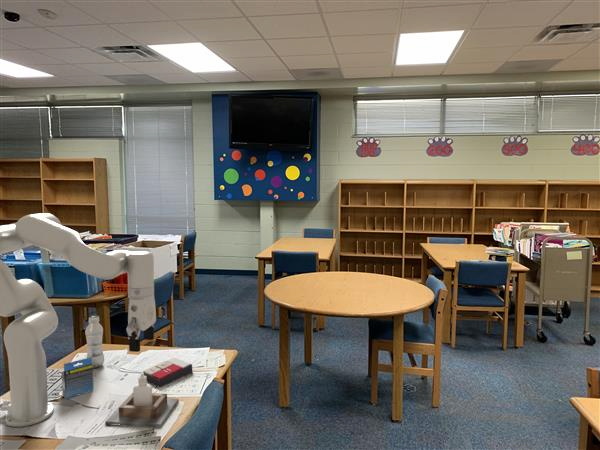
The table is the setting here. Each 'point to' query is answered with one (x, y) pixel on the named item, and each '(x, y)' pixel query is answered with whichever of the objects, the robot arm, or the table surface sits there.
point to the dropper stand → (144, 412)
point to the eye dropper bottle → (142, 392)
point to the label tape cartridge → (77, 378)
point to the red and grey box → (167, 372)
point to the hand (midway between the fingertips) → (142, 345)
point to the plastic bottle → (94, 341)
